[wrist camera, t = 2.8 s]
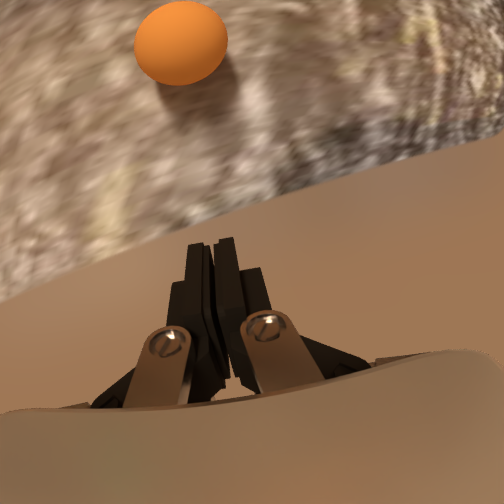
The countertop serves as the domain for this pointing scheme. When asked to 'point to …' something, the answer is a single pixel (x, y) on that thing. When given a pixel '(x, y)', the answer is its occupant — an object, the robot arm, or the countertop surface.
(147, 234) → the countertop surface
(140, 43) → the ball
